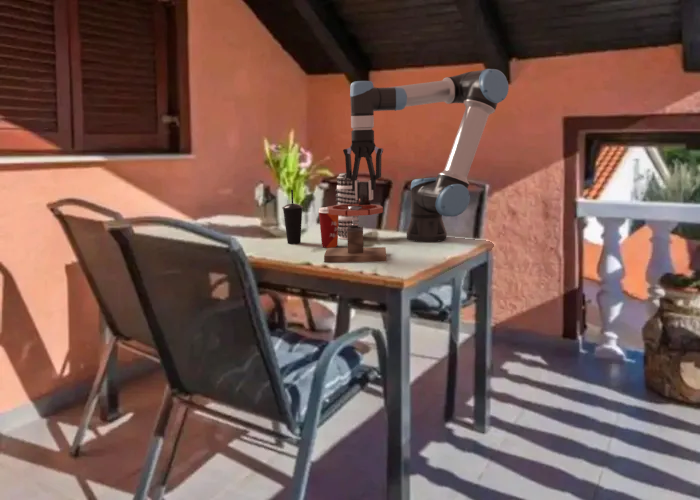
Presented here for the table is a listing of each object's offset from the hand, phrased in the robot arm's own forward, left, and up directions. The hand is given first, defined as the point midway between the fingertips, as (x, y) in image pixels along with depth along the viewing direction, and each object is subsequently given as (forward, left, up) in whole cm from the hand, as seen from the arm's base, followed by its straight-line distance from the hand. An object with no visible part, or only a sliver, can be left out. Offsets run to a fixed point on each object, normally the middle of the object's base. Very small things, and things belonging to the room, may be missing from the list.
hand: (364, 199), depth 226 cm
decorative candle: (+7, -32, -19) cm, 38 cm away
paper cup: (+13, -14, -19) cm, 27 cm away
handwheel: (+3, +7, -9) cm, 12 cm away
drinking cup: (+27, -22, -19) cm, 39 cm away
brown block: (+3, +7, -18) cm, 20 cm away
